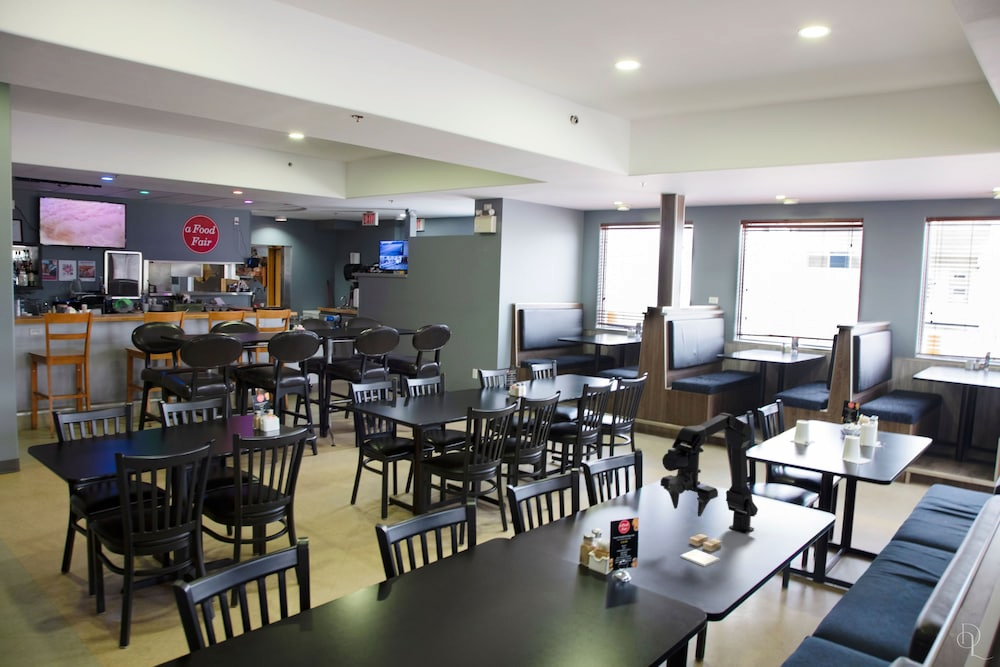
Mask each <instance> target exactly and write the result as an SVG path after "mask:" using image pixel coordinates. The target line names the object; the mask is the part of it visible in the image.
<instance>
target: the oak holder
mask: <svg viewBox="0 0 1000 667" xmlns="http://www.w3.org/2000/svg"><path fill="white" fill-rule="evenodd" d="M708 538H709V536H708V535H705V534H702V533H699V534H696V535H694V536H691V537H689V544H690V545H693V546H695V547H699V546H701V545H702V549H703V550H706V551H709V552H713V551H716V550H718V549H720V548H721V547H722V540H719V539H716V538H711V539H709V540H708Z"/></svg>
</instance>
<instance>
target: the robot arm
mask: <svg viewBox="0 0 1000 667" xmlns="http://www.w3.org/2000/svg"><path fill="white" fill-rule="evenodd" d="M723 430H724V432H725V437H726V438H725V439H726V441H727V442H728V443H729V445H730V447H731V448H730V449H731V486H730V487H729V489H728V490H727V489H726V491H725V495H726V498H725V502H726V504H727V508H728V509H727V510H729V511H732V512H733V519H732V525H730V526H728V528H729V529H730V528H731V530H733V529H734V531H736V530H738V531H737V532H739V531H740V533H742V532H743V534H747V533H750V532H752V531H754V530H755V528H754V527H752V526H751V524H752V523H751V521H752V520H751V519H752V517H755V516H757V514H758V510H759V509H758V507H757V506H756V504H755V503H754V501H753V496H752V495H753V494H752V492H751V490H750V489H749V487H748V482H747V480H748V478H747V476H748V474H747V472H748V471H747V470H748V469H747V465H748V464H747V447H748V445H749V443H750V442H751V440H752V433H753V429H752V426H751V425H750V424H749V423H745V421H742V420H740V419H738V418H737V417H736V416H735V415H733V414H730V413H726V412H721V413H719V414H718V415H716V416H713V417H712V418H710V419H709V420H706V421H704V422H702V423H700V424H698V425H688V426H685V427H682V428H681V429H680V430H679V432H678V434H677V436H676V438H675V440H674V442H673V444H672V446H671V448H670V449H669V448H668V449H667V453H665V454H664V455H663V457H662V465H663V467H664V469H665V470H667V471H668V472H673V471H677V473H676V475H671V474H670V475H666V476H663V477H661V479H660V486H661V487H663V489H664V490H665V491H667V492H668V493H669V496H670V499H671V502H672V505H673V509H677V508H678V506H679V500H680V494H683V493H685V491H687V492H689V491H690V492H694V493H697V496H698V497H696V500H697V502H698V506H697V517H702V515H703V513H704V511H705V509H706V508H707V505H708V503H709V502H710V501H711V500H713V499H716V498H718V497H719V491H718V489H717V488H716V487H714V486H709V485H705V486H702V487H700V485H701V481H699V473H701V472H702V470H701V469H700V468H699V465H700V453H703V452H704V451H705V449H703V448H702V446H703V445H704V444H706V442H707V439H708V438H709V437H712V436H713V435H715V434H717V433H719V432H721V431H723ZM753 529H754V530H753ZM751 530H752V531H751ZM749 531H750V532H749ZM746 532H747V533H746Z"/></svg>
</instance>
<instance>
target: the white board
mask: <svg viewBox="0 0 1000 667" xmlns="http://www.w3.org/2000/svg"><path fill="white" fill-rule="evenodd" d="M679 557H680V558H683V559H685V560H687V561H689V562H692V563H694V564H697V565H699V566H701V567H707V566H710V565H712V564H714V563H718V561H720V560H721V559H720V558H719V557H718V556H715V555H712V554H709V553H706V552H704V551H701V550H699V549H696V548H695V549H692V550H690V551H688V552H684V553H683V554H680V556H679Z"/></svg>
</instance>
